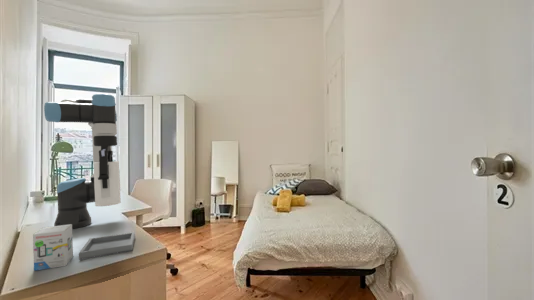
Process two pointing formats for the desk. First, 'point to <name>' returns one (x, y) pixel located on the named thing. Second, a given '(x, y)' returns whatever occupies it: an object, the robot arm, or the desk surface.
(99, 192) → the cup
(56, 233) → the ink box
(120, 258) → the desk surface
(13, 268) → the desk surface
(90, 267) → the desk surface
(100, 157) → the robot arm
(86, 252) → the tray
